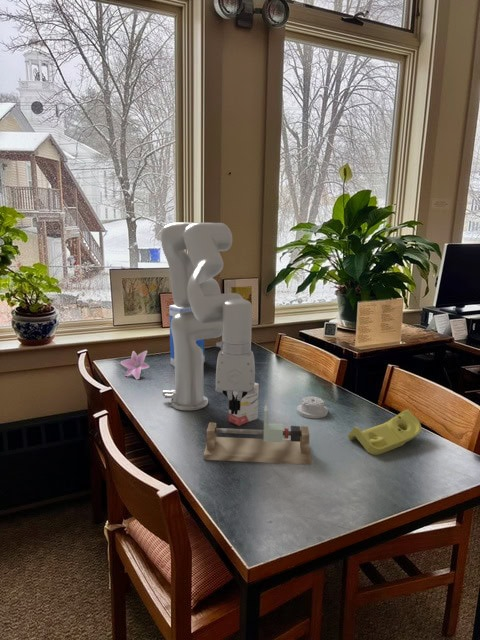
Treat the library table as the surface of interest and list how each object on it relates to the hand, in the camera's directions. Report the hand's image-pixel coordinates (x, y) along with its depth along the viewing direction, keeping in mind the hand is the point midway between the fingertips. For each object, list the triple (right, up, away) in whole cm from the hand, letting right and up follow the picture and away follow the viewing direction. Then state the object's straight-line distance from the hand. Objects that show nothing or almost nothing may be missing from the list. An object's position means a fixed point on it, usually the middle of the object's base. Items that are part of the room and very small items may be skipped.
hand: (234, 412), depth 125 cm
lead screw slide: (+6, -11, +1) cm, 13 cm away
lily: (-40, +3, +59) cm, 71 cm away
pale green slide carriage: (+10, -7, 0) cm, 13 cm away
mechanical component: (+25, -6, +28) cm, 38 cm away
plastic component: (+43, -11, +8) cm, 45 cm away
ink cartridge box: (+3, -7, +21) cm, 22 cm away
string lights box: (-21, +6, +74) cm, 77 cm away
